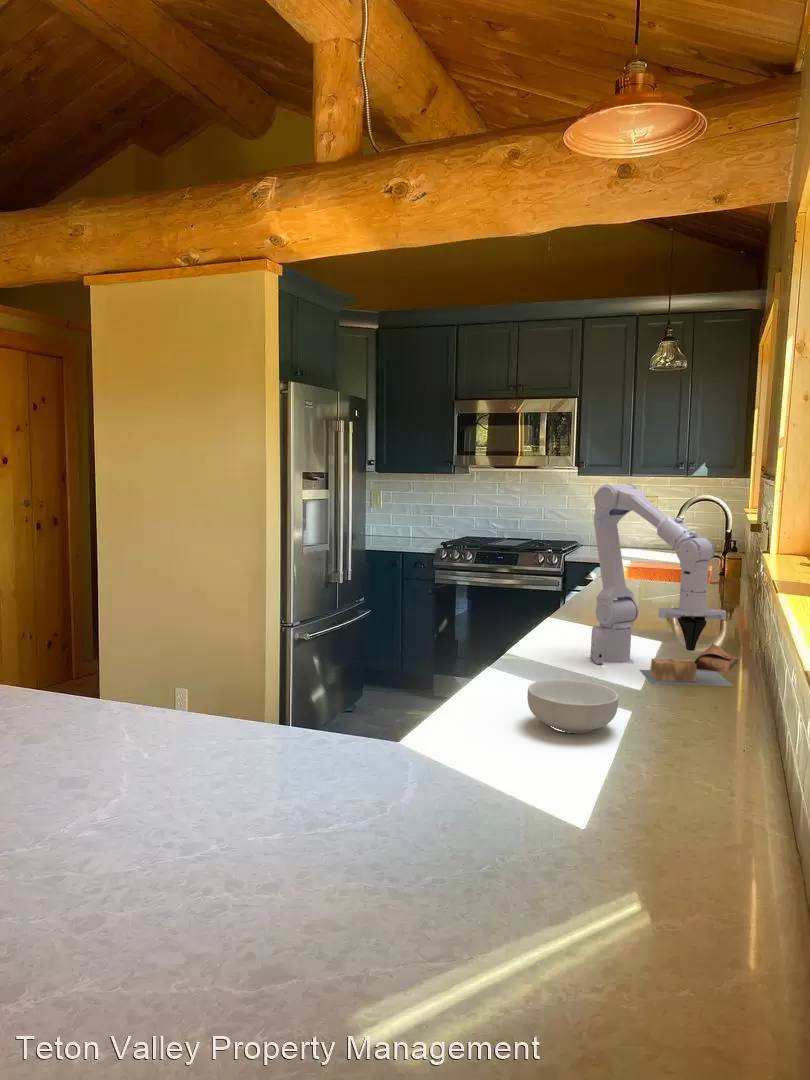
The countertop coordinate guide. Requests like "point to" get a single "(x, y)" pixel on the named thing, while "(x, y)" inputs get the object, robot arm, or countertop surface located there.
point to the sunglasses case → (716, 660)
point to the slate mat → (701, 679)
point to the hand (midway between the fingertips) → (690, 649)
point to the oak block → (673, 670)
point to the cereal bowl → (572, 704)
